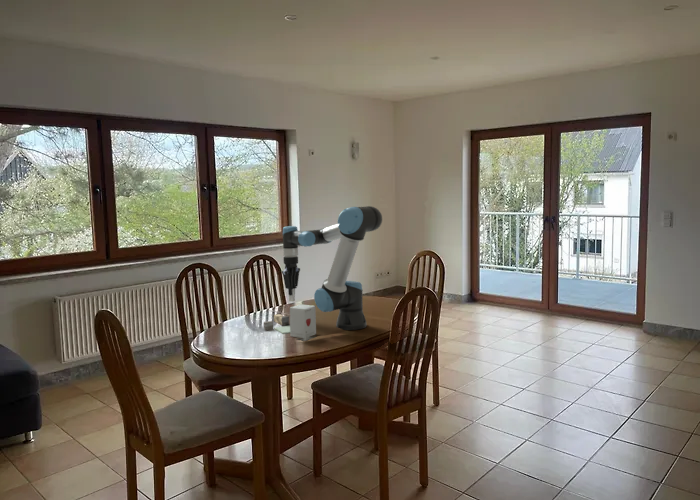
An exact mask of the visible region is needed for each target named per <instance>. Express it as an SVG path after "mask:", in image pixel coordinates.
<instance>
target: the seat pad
mask: <svg viewBox="0 0 700 500" xmlns="http://www.w3.org/2000/svg"><path fill="white" fill-rule="evenodd" d="M273 330H275V331H276V332H278V333H280V334H282V335H284V334H290V325H289V326H277V327H273Z"/></svg>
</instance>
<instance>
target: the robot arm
mask: <svg viewBox="0 0 700 500" xmlns="http://www.w3.org/2000/svg"><path fill="white" fill-rule="evenodd" d="M382 223H383V215H382V213H381V211H380V210H379V209H378V208H377V207H374V206H371V205H368V206H367V205H366V206H350V207H346V208H344V209H343V210H342V211H341V212H340V213H339V215H338V218H337V223H334V224H331V225H329V226H326V227H323V228H320V229H312V230H298V227H297V226H295V225H288V226H287V225H286V226H284V227H283V228H282V248H283V251H282V253H283V264H284V265H285V266H284V269H283V270H281V274H282V276H283V277H282V278H283V282H284V286H285V289H288V291H287V292H288V301H289V302H295V301H296V289H297V288H298V285H299V278H300V271H301V268H300V267H298V264H299V247H298V246H300V247H306V248H307V247H312V246H316V245H326V244H330V243H332V241H335V240H339V239H340V240H339V243H338V246H337V248H336V252H335V255H334V258H333V261H332V265H331V266H330V267H331V268H330V270H329V274H328V278H327V279H324V280H323V283H322V286H321V287H320V288H318V289H316V290H315V292H314V295H313V296H314V299H313V300H314V302H315V306H316V307H317V309H319V310H320V311H321V312H323V313H328V312H330V313H331V312H333V311H339V313H338V316H337V319H336V325H335V326H336V328H338V329H339V330H344V331H356V330H362V329H363V330H364V328H365V329H366V327H367V319H366V316H365V315H364V312H363V311H364V309H363V285H362V283H361V282H360V281H353V280H347V279H348V276H349V274H350V272H351V271H350V270H351V267H352V264H353V262H354V258H355V255H356V253H357V250H358V246H359V243H360V242H361V241H363V240H364V239H365V236H366V234H367V233H369V232H374V231H376V230H378V229H379V228H380V227H381V225H382Z"/></svg>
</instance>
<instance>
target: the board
mask: <svg viewBox="0 0 700 500" xmlns="http://www.w3.org/2000/svg"><path fill="white" fill-rule="evenodd" d="M271 330H274V320H273V321H272V320H269V321H263V331H271Z"/></svg>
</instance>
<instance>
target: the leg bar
mask: <svg viewBox="0 0 700 500" xmlns="http://www.w3.org/2000/svg"><path fill="white" fill-rule="evenodd" d="M274 322H275V323H277V324H278V325H280V326H281V327H283V326H290V315H289V316H288V315H287V316H286V315H282V314H280V313H277V314H273V323H274Z"/></svg>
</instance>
